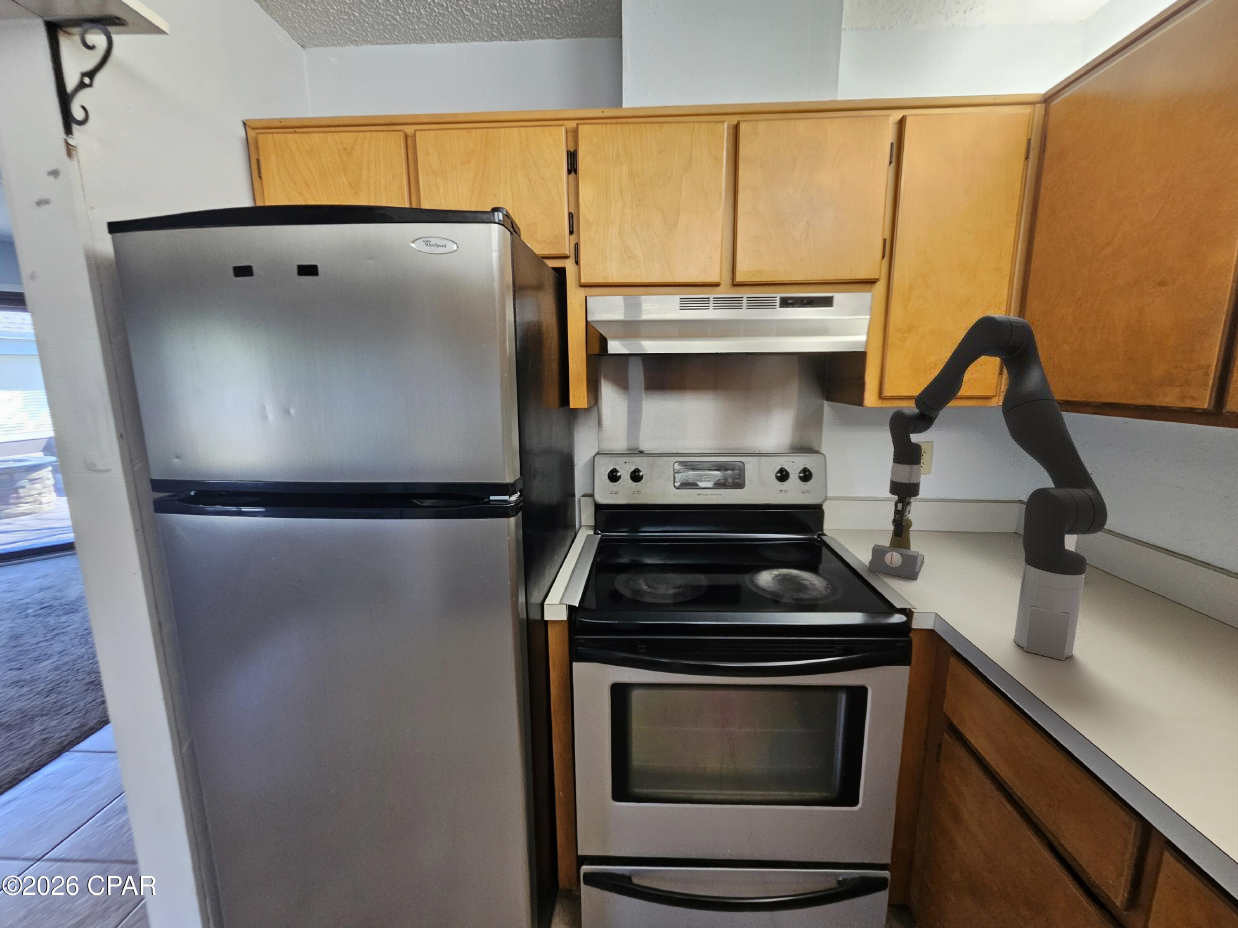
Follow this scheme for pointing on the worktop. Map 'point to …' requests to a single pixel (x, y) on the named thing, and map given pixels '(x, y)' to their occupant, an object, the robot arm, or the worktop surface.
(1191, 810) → the worktop surface
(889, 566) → the knob on square plate
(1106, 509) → the robot arm
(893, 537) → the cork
